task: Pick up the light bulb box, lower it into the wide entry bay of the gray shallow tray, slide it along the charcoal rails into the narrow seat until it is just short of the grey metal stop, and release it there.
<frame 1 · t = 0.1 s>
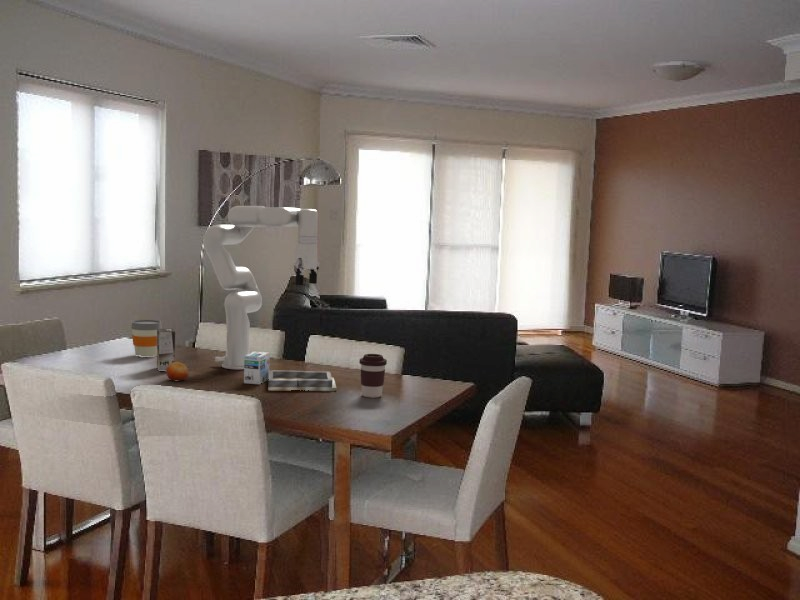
hand: (306, 284, 317), 37 cm above the table, tool pointing down, fingers open, 9 cm apart
gray shallow tray: (302, 385, 307), on the table
light bulb box: (256, 381, 311), on the table
coffee cup: (371, 396, 295), on the table
reusable coffee cup: (146, 356, 351), on the table
fruit: (177, 381, 306), on the table
coffee box: (165, 369, 325), on the table
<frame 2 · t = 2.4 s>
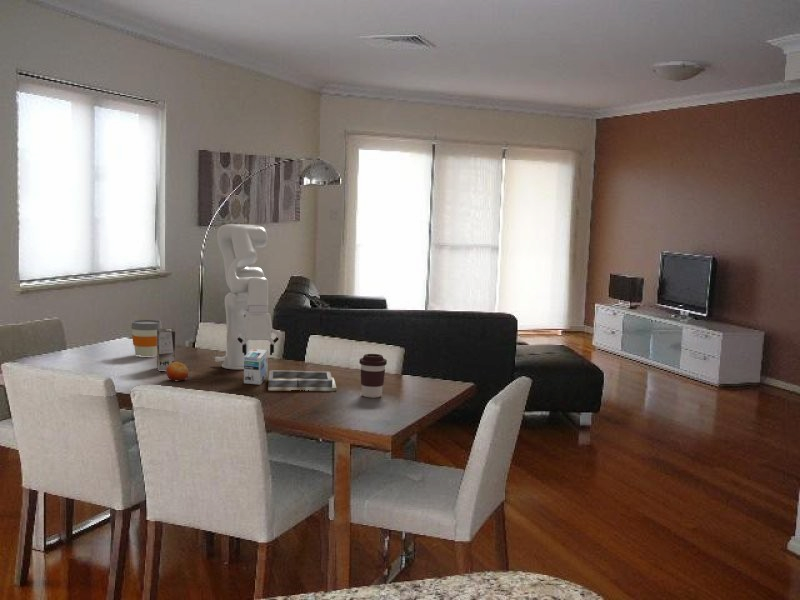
hand: (258, 355, 306), 11 cm above the table, tool pointing down, fingers open, 9 cm apart
light bulb box: (255, 380, 310), on the table, touching gripper
everything else where it was.
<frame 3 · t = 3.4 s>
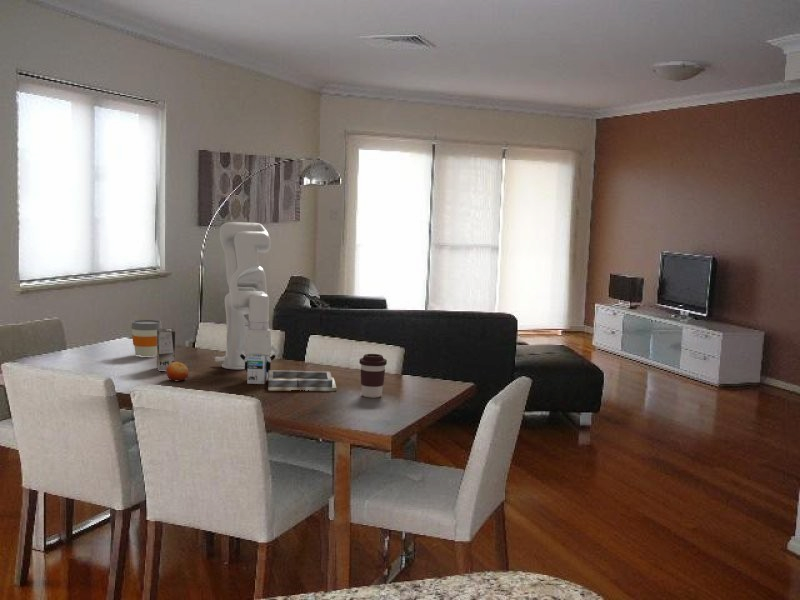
hand: (257, 371, 310), 4 cm above the table, tool pointing down, fingers closed on light bulb box, 7 cm apart
light bulb box: (257, 381, 311), on the table, touching gripper
everything else where it was.
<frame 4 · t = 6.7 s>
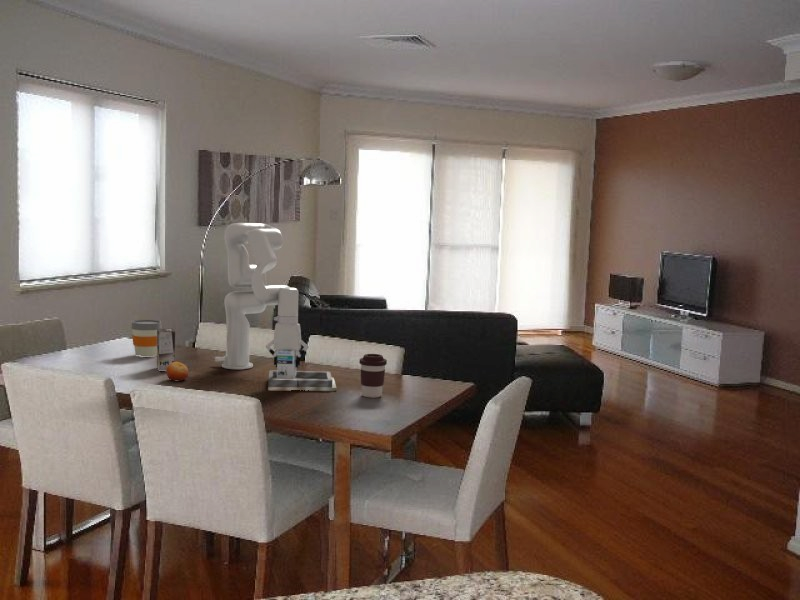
hand: (286, 366, 305), 7 cm above the table, tool pointing down, fingers closed on light bulb box, 7 cm apart
light bulb box: (286, 377, 306), point 3 cm above the table, touching gripper
everything else where it was.
when the fingers open (6 cm above the table, at t = 10.3 s): light bulb box stays where it is, resting on gray shallow tray.
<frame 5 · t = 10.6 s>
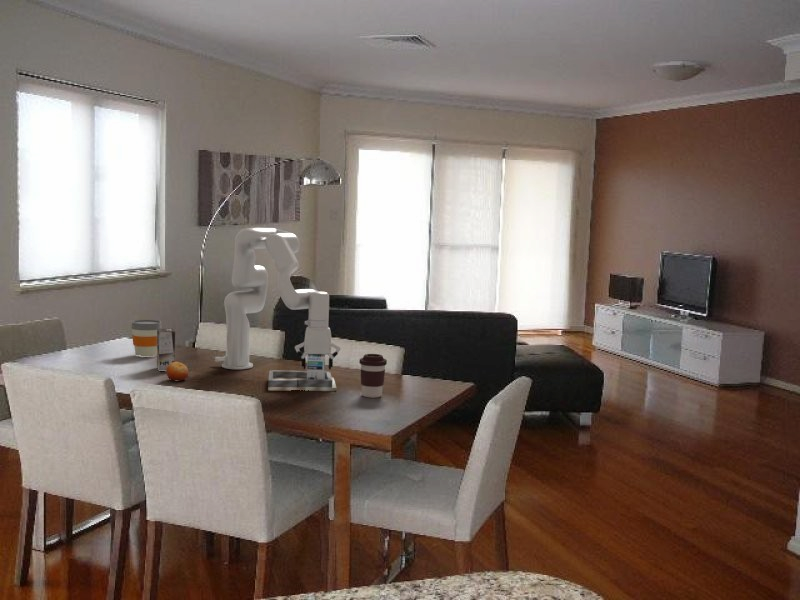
hand: (317, 368, 307), 6 cm above the table, tool pointing down, fingers open, 9 cm apart
light bulb box: (315, 382, 308), point 1 cm above the table, touching gray shallow tray
everything else where it was.
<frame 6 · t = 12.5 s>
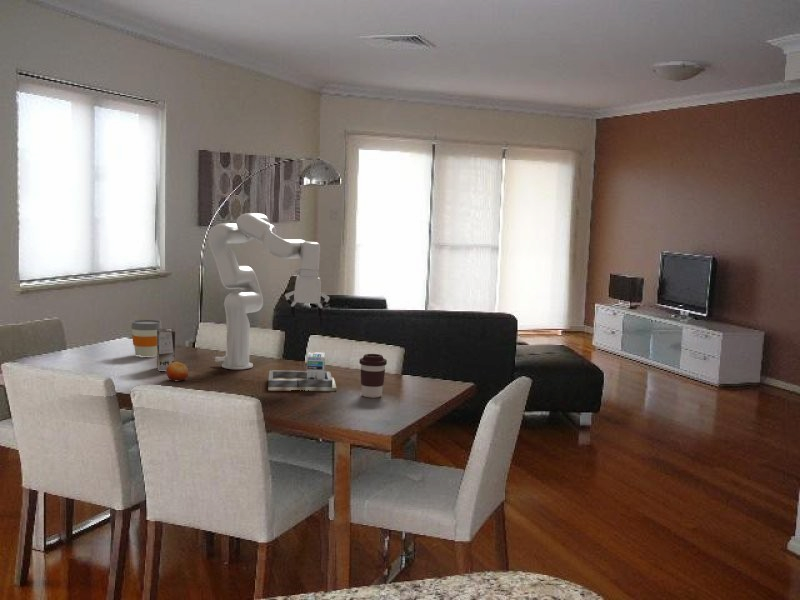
hand: (306, 317, 315), 25 cm above the table, tool pointing down, fingers open, 9 cm apart
nothing on the table moved.
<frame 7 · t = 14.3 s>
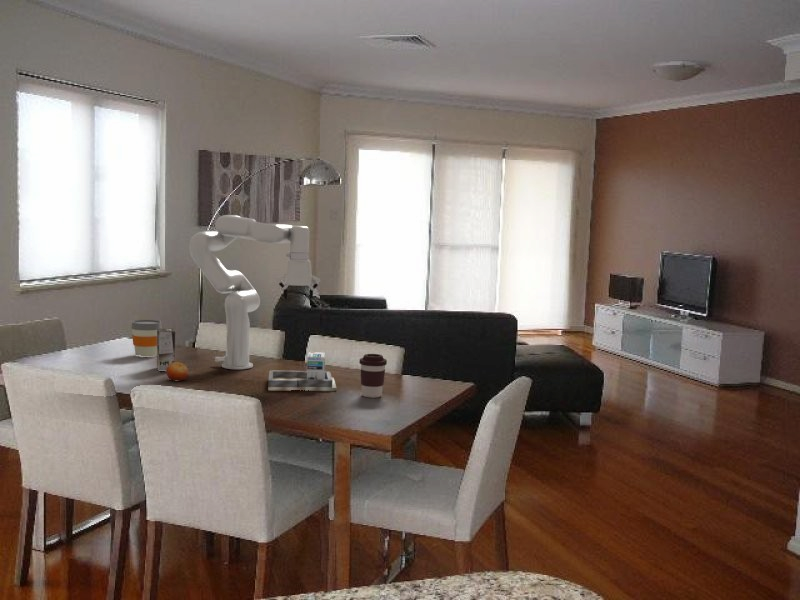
hand: (298, 299, 324), 30 cm above the table, tool pointing down, fingers open, 9 cm apart
nothing on the table moved.
at the end: light bulb box 0.9 cm from the target spot on the gray shallow tray, point 1.0 cm above the gray shallow tray's base; light bulb box tilted 0°; the gripper is holding nothing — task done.
